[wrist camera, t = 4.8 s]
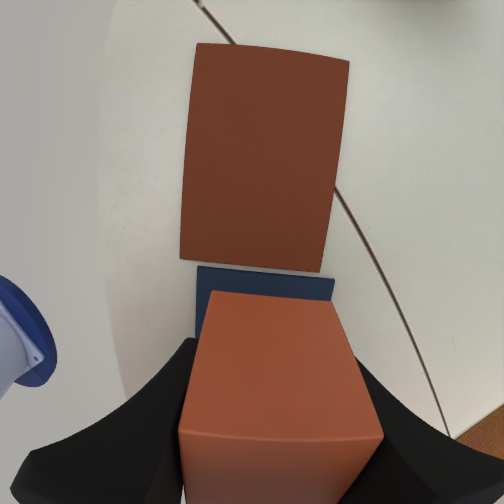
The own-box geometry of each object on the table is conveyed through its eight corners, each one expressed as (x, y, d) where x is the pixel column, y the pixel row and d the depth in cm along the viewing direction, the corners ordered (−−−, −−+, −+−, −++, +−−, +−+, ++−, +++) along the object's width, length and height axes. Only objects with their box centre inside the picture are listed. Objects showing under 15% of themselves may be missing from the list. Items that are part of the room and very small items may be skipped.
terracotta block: (308, 387, 12) (330, 513, 7) (207, 379, 12) (186, 509, 7) (332, 300, 11) (386, 436, 5) (211, 288, 11) (176, 430, 5)
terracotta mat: (318, 270, 19) (319, 272, 18) (180, 257, 18) (179, 259, 18) (348, 62, 14) (349, 60, 14) (197, 44, 14) (196, 42, 14)
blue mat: (297, 414, 23) (298, 417, 23) (195, 406, 23) (195, 409, 22) (334, 278, 19) (335, 280, 18) (198, 265, 19) (197, 267, 18)
